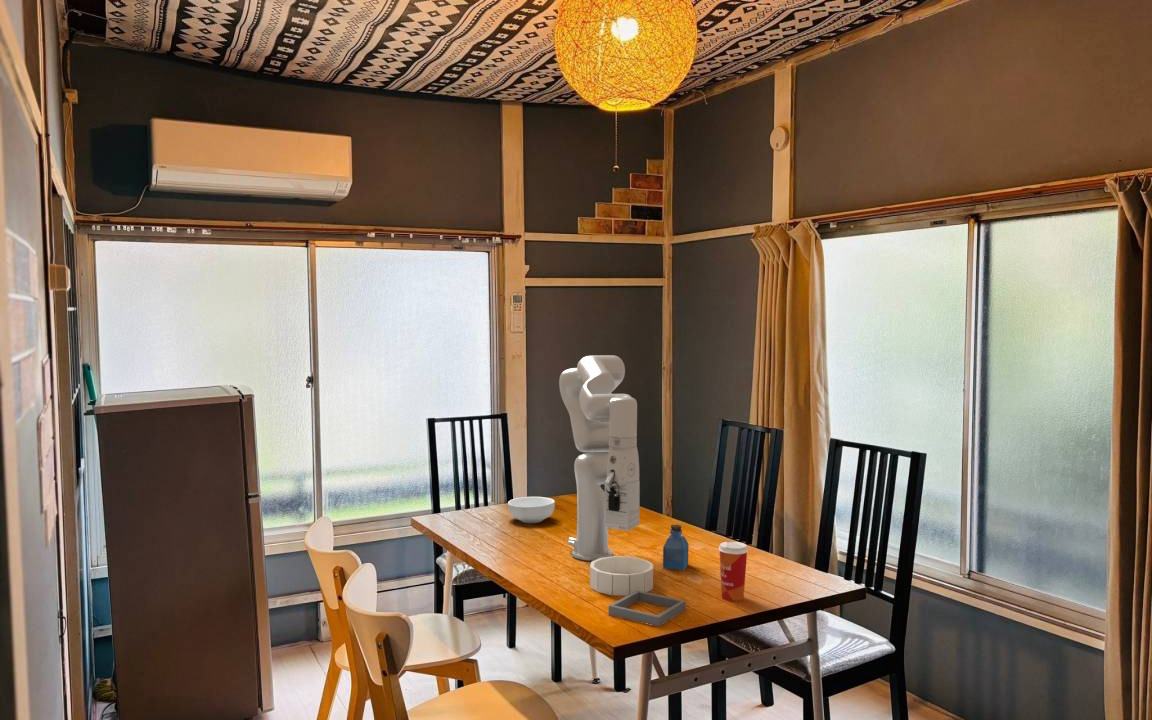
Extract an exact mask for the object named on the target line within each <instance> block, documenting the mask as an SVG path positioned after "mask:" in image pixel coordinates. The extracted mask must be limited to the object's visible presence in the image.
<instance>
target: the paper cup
mask: <svg viewBox="0 0 1152 720" xmlns="http://www.w3.org/2000/svg"><path fill="white" fill-rule="evenodd" d="M718 551H719V566H720V567H719V568H720V591H721V592H720V593H721V598H722V599H723V600H724V599H725V601H727V600H728V602H740V600H741V601H743V600H744V598H745V597H744V596H745V595H744V594H745V585H746V584H745V583H746V573H747V557H748V552H749V549H748V546H747V544H746V543H743V542H739V541H724V542H721V543H720V544H719V546H718Z"/></svg>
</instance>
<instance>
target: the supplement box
mask: <svg viewBox="0 0 1152 720" xmlns="http://www.w3.org/2000/svg"><path fill="white" fill-rule="evenodd" d="M612 484H617V483H616V482H613V483H612ZM640 484H641V482H640V479H639V480H636V481H633V482H630V483H627V484H625V485H624V487H621V486H620V491H619V494H618V496H620V510H619V511H613V510H609V509H608V501H609V495H608V494H607V493H608V492H607V491H606V487H605V486H604V492H605V527H606V528H608V529H613V530H618V531H625V532H629V531H630V530H632V529H635V528H636V527H638V526H640V497H641V494H640V490H641V489H640ZM612 487H613V486H612ZM613 488H614V489H615V490H616V487H613Z"/></svg>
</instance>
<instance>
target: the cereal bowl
mask: <svg viewBox="0 0 1152 720" xmlns="http://www.w3.org/2000/svg"><path fill="white" fill-rule="evenodd" d="M555 506H556V502H555V500H554V499H553V498H550V497H545V496H544V497H543V496H522V497H515V498H513V499H510V500H509V501H507V508H508V513H509V514H510V515H511V517H513V518H514V519H516V520H518V521H520V522H522V523H525V524H537V523H541V522H543V521H544V520H545V519H547V518H549V517H550V516H552V514H553V513H554V511H555Z"/></svg>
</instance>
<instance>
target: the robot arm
mask: <svg viewBox="0 0 1152 720" xmlns="http://www.w3.org/2000/svg"><path fill="white" fill-rule="evenodd" d="M625 374H626V367H625V363H624V362H623V359H622V358H620V357H619V356H617V355H612V354H611V355H609V354H607V355H603V354H602V355H597V354H596V355H595V354H594V355H592V354H591V355H586V356H583V357H582V358H581V359H580V360H579V361H578V363H577V367H572V368H568V369H565V370H564V371H562V372H561V373H560V375H559V393H560V396H561V397H560V398H561V399H562V401H563V404H564V406H565V408H566V410H567V412H568V414H569V415H568V416H569V418H570V425H571V429H572V431H571V432H572V435H573V441H574V445H575V448H576V449H577V451H579V452H582V454H579V455H578V456H577V457H576V458H575V460H574V465H573V467H574V469H573V471H574V476H575V482H576V497H577V498H576V500H577V501H576V503H577V505H576V514H577V515H576V537H569V538H568V540H567V546H571V547H573V550H571V556H572V557H573V558H576V559H577V560H582V561H587V562H588V561H590V562H592V561H594V560H597V559H599V558H604V557H612V556H614V551H613V550H612V549H611V548H609V528H606V527H605V490H604V489H602V487H601V485H604V488H605V487H606V491H607V492H608V493H607V494H608V495H609V501H608V509H609V510H613V511H619V510H620V496H618V494H619V491H620V486H621V487H624V485H625V484H627V483H630V482H633V481H636V480H639V481H640V460H639V458H640V457H639V451H638V447H637V436H638V433H637V431H638V429H637V428H638V427H637V426H638V402H637V399H636V398H634V397H632V396H631V395H630V394H627V393H612V392H614V391H615V390H616V388H617V387H618V386H619V385H620V384H621V383H622V382H623V380H624V378H625ZM613 482H616V483H617V484H612V483H613ZM612 486H613V487H616V490H615V489H614V488H613V487H612Z"/></svg>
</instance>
